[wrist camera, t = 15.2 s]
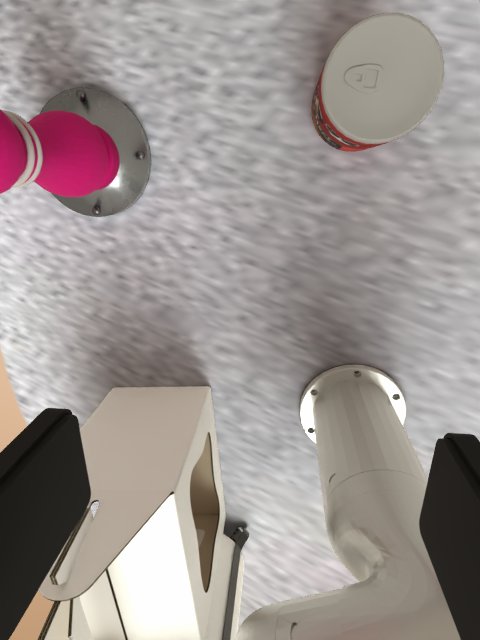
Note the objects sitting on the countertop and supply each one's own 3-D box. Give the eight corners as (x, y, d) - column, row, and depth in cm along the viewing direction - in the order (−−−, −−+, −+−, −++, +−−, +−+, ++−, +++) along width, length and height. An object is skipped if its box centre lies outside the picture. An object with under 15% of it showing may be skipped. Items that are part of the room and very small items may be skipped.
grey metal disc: (155, 216, 41) (151, 217, 40) (51, 215, 42) (43, 216, 41) (145, 88, 37) (139, 85, 35) (29, 91, 38) (19, 88, 37)
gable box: (226, 515, 56) (177, 813, 30) (140, 512, 57) (23, 792, 31) (210, 383, 48) (124, 630, 22) (112, 385, 50) (-77, 616, 24)
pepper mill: (84, 208, 40) (-85, 235, 22) (42, 143, 38) (-183, 113, 20) (138, 172, 38) (3, 168, 20) (96, 102, 37) (-96, 26, 18)
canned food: (307, 69, 35) (317, 25, 25) (398, 51, 34) (448, -3, 23) (313, 158, 37) (325, 152, 27) (398, 145, 36) (443, 133, 26)
